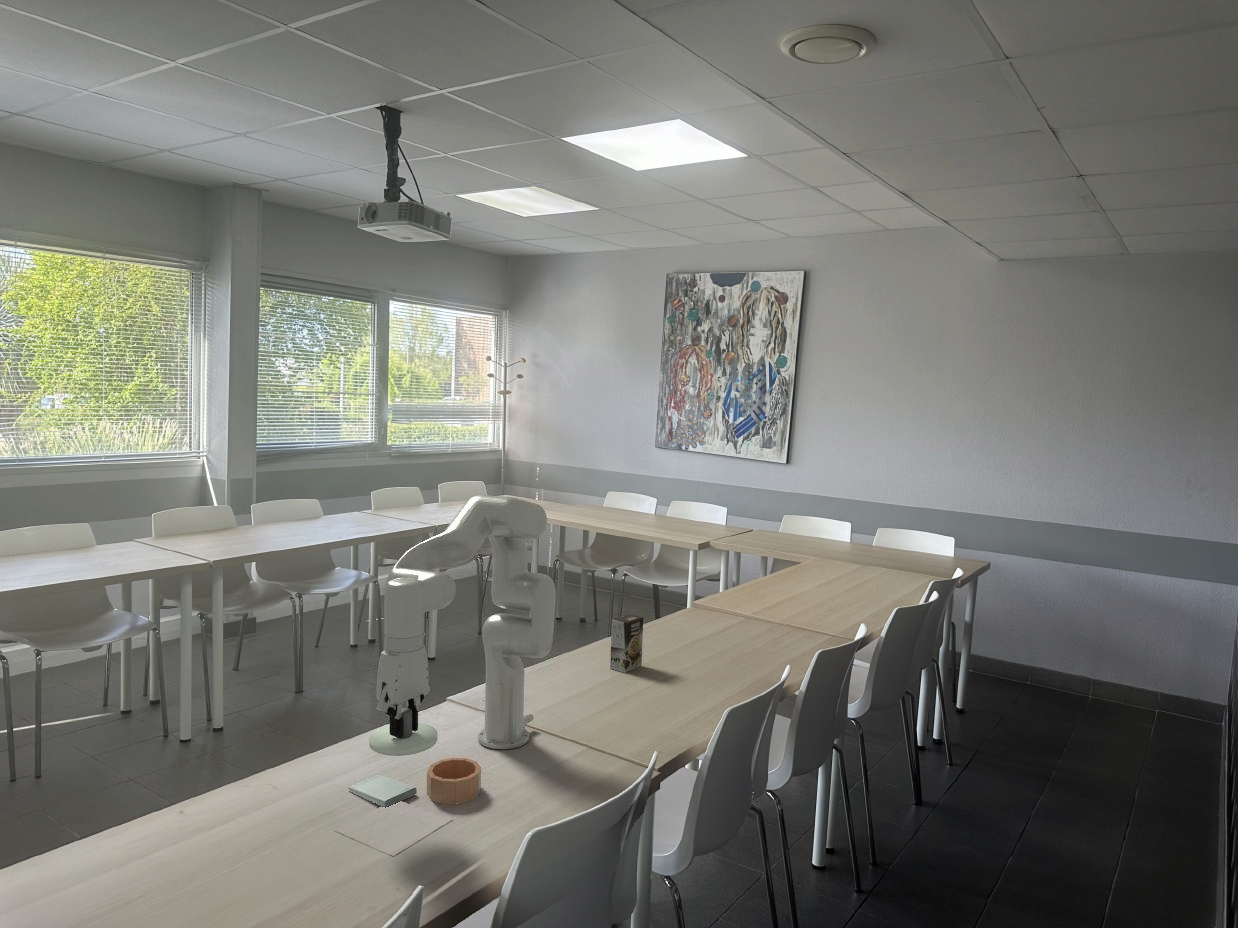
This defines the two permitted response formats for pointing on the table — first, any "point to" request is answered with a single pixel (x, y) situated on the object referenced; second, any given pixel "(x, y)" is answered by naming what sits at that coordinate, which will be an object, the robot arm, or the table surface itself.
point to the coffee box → (626, 643)
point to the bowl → (453, 780)
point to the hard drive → (383, 790)
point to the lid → (403, 738)
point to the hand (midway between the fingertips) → (403, 731)
